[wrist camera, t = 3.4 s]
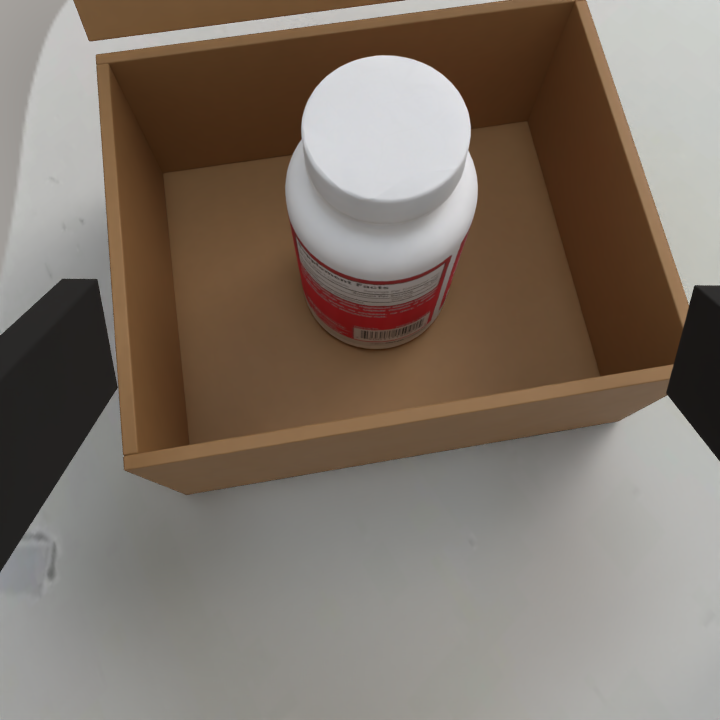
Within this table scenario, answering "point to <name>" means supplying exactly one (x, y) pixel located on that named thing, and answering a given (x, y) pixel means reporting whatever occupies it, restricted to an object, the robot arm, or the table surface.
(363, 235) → the pill bottle
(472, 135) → the carton
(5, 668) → the table surface
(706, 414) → the robot arm
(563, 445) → the table surface
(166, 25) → the flap
